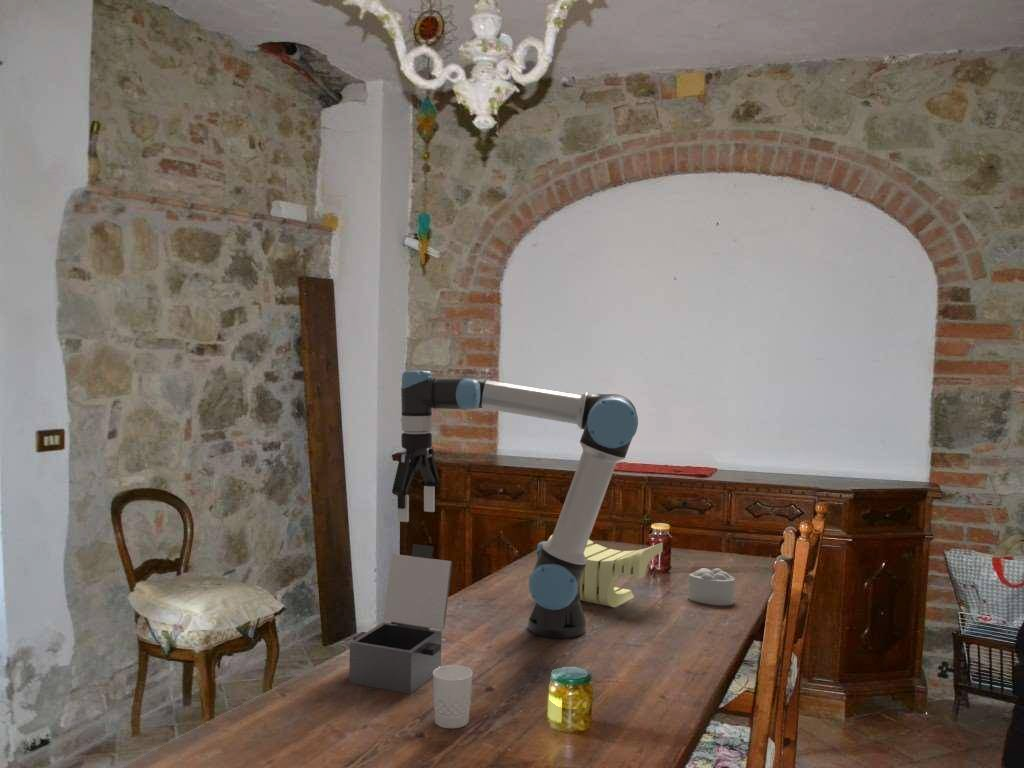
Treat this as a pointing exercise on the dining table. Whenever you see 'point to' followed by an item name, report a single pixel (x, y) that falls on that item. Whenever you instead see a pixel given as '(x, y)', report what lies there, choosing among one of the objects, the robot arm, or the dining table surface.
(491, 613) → the dining table surface
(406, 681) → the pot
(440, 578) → the lid
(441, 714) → the white cup
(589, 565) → the pale yellow slotted stand
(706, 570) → the lumpy-topped squat cylinder
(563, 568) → the robot arm
